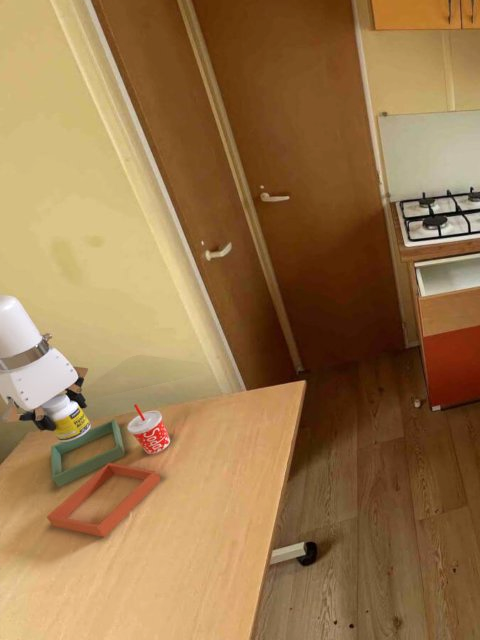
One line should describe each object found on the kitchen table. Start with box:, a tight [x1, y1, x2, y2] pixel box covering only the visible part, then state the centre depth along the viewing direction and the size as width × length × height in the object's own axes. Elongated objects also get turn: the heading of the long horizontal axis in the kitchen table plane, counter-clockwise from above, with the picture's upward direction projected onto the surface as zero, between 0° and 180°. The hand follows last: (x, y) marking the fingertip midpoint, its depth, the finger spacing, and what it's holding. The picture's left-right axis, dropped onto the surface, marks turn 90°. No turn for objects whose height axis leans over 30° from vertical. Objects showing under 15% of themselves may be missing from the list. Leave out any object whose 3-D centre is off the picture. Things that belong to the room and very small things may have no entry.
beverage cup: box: [126, 403, 171, 455], centre depth 97 cm, size 6×6×14 cm
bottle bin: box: [50, 418, 126, 488], centre depth 97 cm, size 11×11×4 cm
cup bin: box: [46, 462, 161, 538], centre depth 88 cm, size 12×12×4 cm
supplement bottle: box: [42, 393, 92, 442], centre depth 92 cm, size 5×5×10 cm
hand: (65, 417), depth 92 cm, fingers closed on supplement bottle, 5 cm apart
